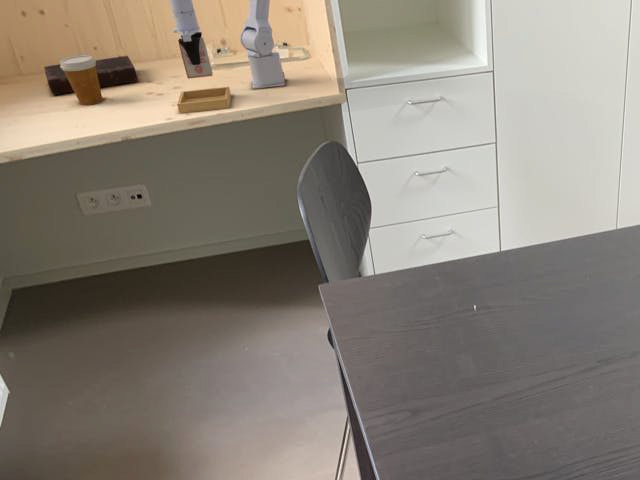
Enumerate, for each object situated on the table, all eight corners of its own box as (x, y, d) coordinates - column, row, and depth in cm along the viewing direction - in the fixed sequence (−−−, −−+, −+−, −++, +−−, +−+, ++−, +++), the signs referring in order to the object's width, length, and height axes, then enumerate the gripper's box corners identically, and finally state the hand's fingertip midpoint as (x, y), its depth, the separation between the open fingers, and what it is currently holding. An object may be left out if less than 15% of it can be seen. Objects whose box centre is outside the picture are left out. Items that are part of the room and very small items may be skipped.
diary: (139, 82, 248) (134, 65, 245) (53, 96, 239) (46, 79, 236) (131, 69, 261) (126, 53, 258) (49, 82, 252) (43, 65, 249)
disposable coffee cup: (74, 99, 236) (59, 57, 228) (108, 94, 238) (94, 53, 231) (73, 108, 228) (57, 65, 221) (108, 103, 231) (94, 60, 224)
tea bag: (188, 75, 227) (178, 38, 221) (212, 72, 229) (203, 36, 223) (187, 78, 225) (177, 41, 219) (212, 75, 226) (202, 39, 220)
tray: (231, 95, 233) (229, 86, 232) (229, 107, 224) (227, 98, 222) (183, 100, 231) (181, 91, 230) (179, 113, 221) (177, 104, 220)
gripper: (171, 7, 221) (185, 57, 230) (165, 17, 210) (180, 70, 218) (197, 5, 223) (210, 55, 231) (192, 15, 211) (206, 68, 219)
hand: (197, 62), depth 225 cm, fingers closed on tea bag, 4 cm apart
